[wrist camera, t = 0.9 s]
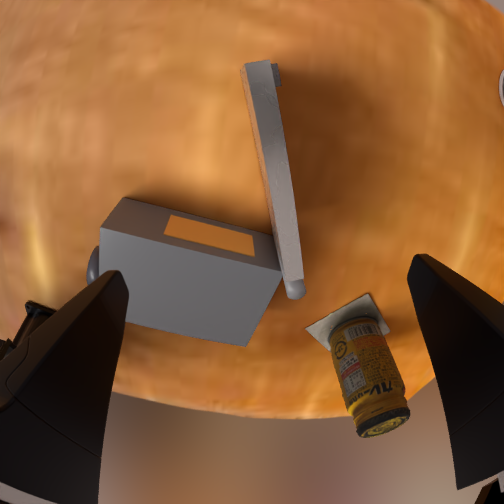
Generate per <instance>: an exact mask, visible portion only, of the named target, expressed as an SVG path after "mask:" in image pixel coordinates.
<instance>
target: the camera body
mask: <svg viewBox="0 0 504 504" xmlns="http://www.w3.org/2000/svg"><path fill="white" fill-rule="evenodd" d="M272 233H273V236H272V235H268V234H265V233H261V232H257V231H253V230H250V229H246V228H242V227H238V226H234V225H231V224H227V223H223V222H219V221H215V220H211V219H207V218H204V217H200V216H196V215H192V214H188V213H184V212H180V211H176V210H172V209H168V208H164V207H160V206H156V205H152V204H148V203H144V202H139V201H135V200H131V199H127V198H122V199H121V200H120V202H119V203H118V204H117V206H116V207H115V208H114V209H113V211H112V212H111V213H110V215H109V216H108V217H107V219H106V220H105V221H104V223H103V224H102V225H101V227H100V244H99V246H96V247H95V249H94V250H93V252H92V254H91V257H90V260H89V263H88V268H87V284H88V285H89V284H91V283H92V282H93V281H94V280H96V279H97V278H98V277H99V276H101V275H102V274H103V273H105V272H106V271H108V270H119V271H120V272H121V273H122V275H123V278H124V280H125V282H126V285H127V287H128V290H129V301H128V307H127V314H126V320H125V321H126V322H130V323H133V324H137V325H141V326H145V327H149V328H154V329H158V330H162V331H166V332H171V333H175V334H180V335H185V336H189V337H194V338H199V339H204V340H210V341H215V342H221V343H226V344H232V345H238V346H244V347H246V346H247V344H248V342H249V340H250V338H251V336H252V335H253V333H254V331H255V329H256V327H257V325H258V323H259V321H260V319H261V318H262V316H263V314H264V312H265V310H266V308H267V306H268V304H269V302H270V300H271V298H272V296H273V294H274V292H275V290H276V288H277V286H278V284H279V283H280V281H281V279H282V277H283V279H284V284H285V288H286V292H287V296H288V297H289V298H290V299H294V300H296V299H300V298H302V297H303V296H304V295H305V294H306V288H305V285H304V281H303V279H299V280H295V281H290V282H286V280H285V276H284V272H283V268H282V264H281V260H280V256H279V252H278V248H277V244H276V240H275V236H274V232H273V228H272Z"/></svg>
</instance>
